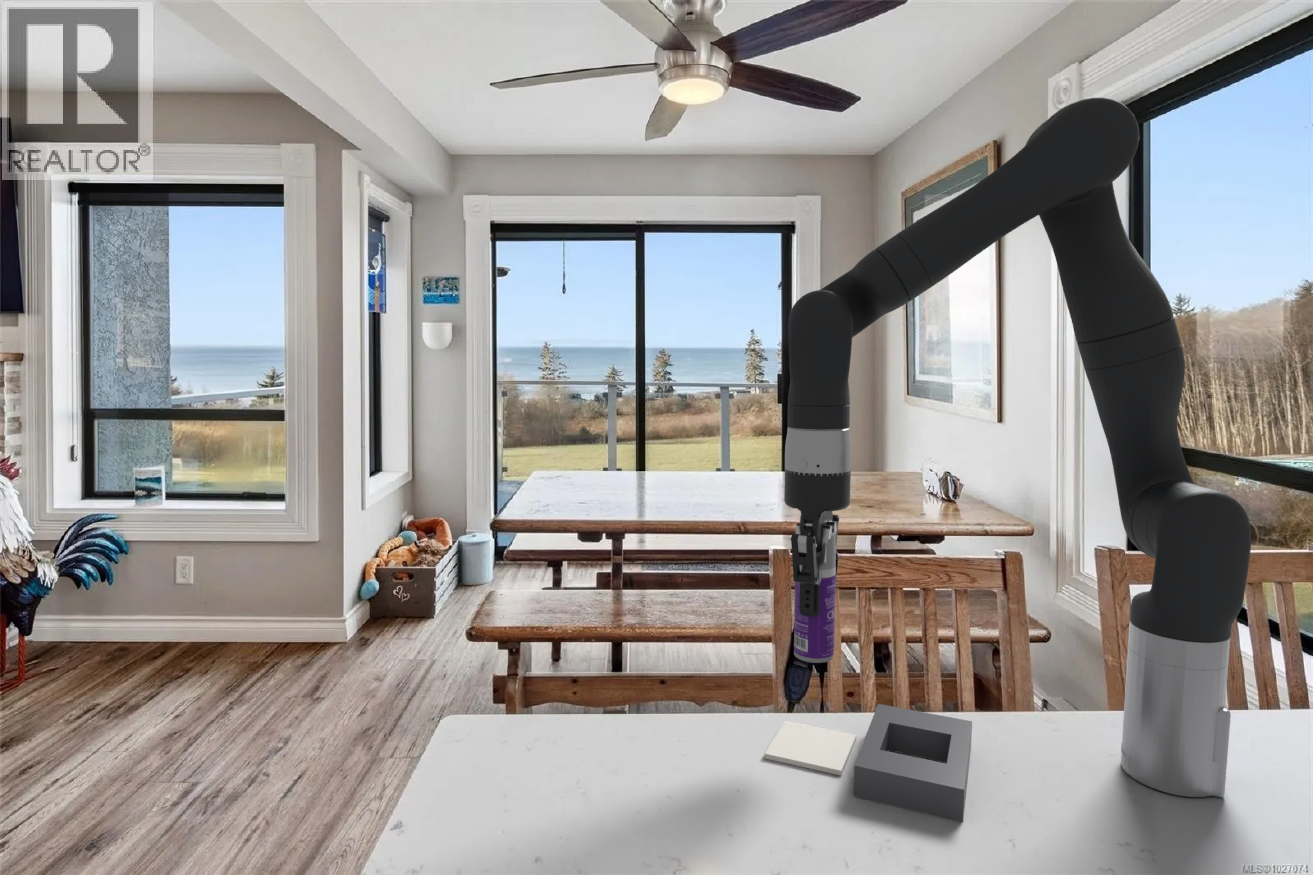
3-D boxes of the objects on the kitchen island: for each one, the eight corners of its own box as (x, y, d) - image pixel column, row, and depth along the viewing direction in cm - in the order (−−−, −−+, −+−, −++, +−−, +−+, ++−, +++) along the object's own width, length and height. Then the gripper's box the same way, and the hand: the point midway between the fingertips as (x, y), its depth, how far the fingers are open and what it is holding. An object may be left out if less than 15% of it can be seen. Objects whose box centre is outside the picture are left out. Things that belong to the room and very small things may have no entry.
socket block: (970, 748, 92) (972, 721, 91) (962, 822, 77) (964, 789, 77) (877, 730, 96) (878, 703, 96) (853, 796, 82) (854, 765, 82)
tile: (856, 739, 94) (856, 735, 94) (841, 775, 86) (841, 770, 86) (785, 725, 98) (785, 720, 98) (764, 758, 90) (764, 753, 90)
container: (834, 664, 88) (837, 537, 86) (793, 661, 89) (795, 535, 87) (833, 649, 92) (835, 528, 91) (794, 646, 93) (796, 526, 92)
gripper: (837, 477, 80) (833, 633, 82) (861, 460, 93) (858, 595, 95) (768, 472, 83) (766, 623, 85) (801, 457, 96) (799, 587, 98)
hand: (814, 607), depth 90 cm, fingers closed on container, 4 cm apart
